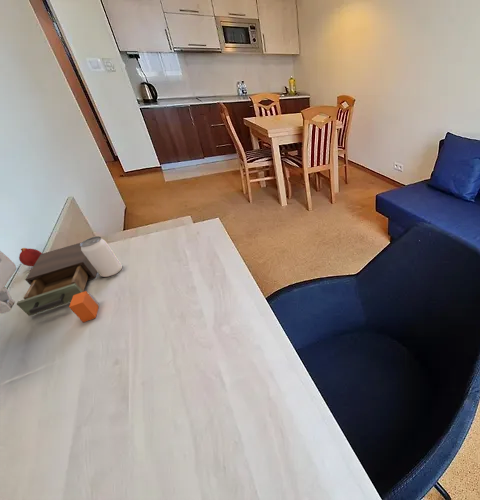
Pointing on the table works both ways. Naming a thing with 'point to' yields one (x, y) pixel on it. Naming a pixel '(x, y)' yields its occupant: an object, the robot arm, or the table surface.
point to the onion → (29, 256)
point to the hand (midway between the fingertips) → (9, 308)
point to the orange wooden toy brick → (84, 306)
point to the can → (101, 256)
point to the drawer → (54, 290)
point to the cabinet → (61, 262)
